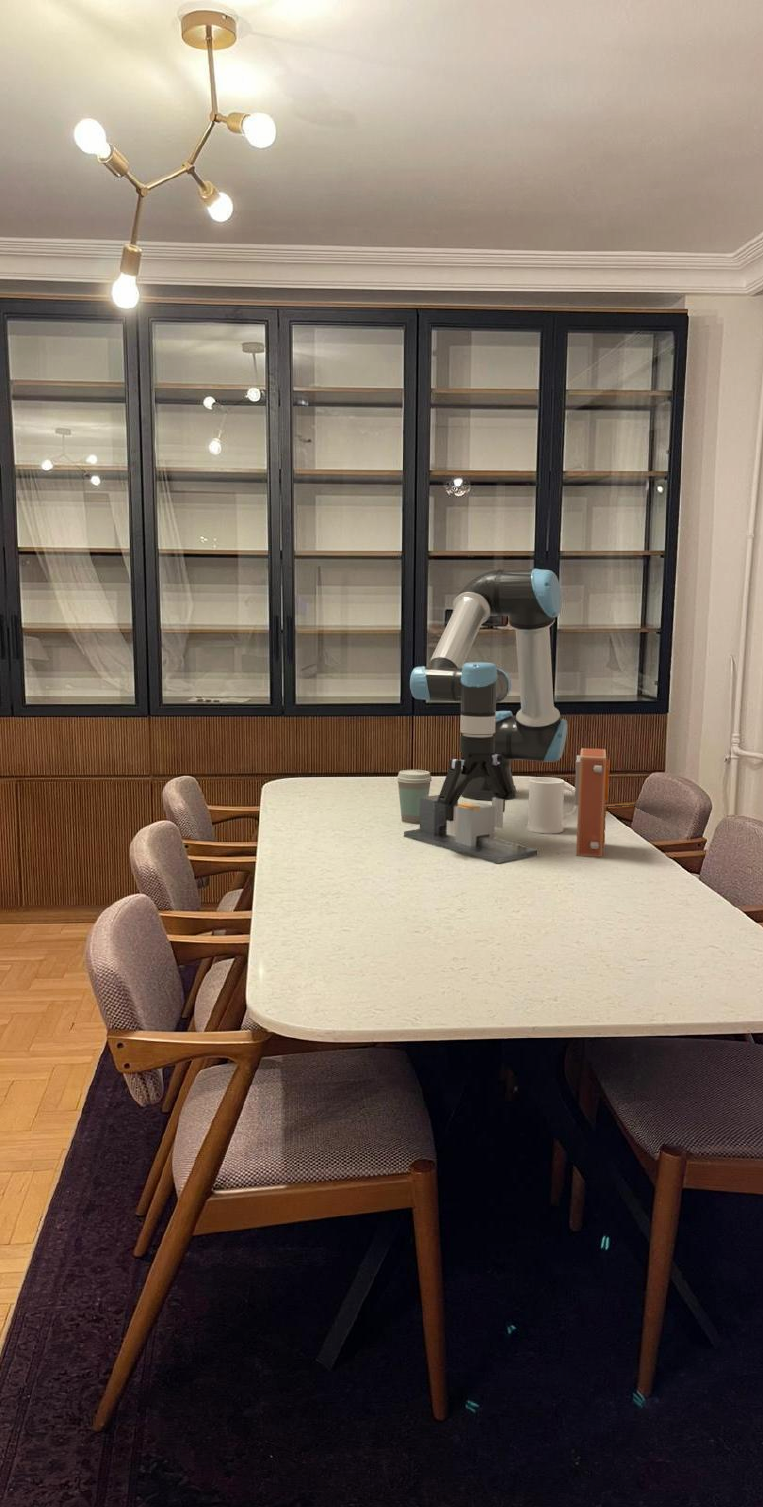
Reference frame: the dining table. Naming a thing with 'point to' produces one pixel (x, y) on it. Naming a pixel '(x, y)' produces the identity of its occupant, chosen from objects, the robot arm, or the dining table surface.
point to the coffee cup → (412, 793)
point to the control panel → (591, 800)
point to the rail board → (436, 834)
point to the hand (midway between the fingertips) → (475, 831)
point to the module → (475, 822)
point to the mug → (547, 805)
